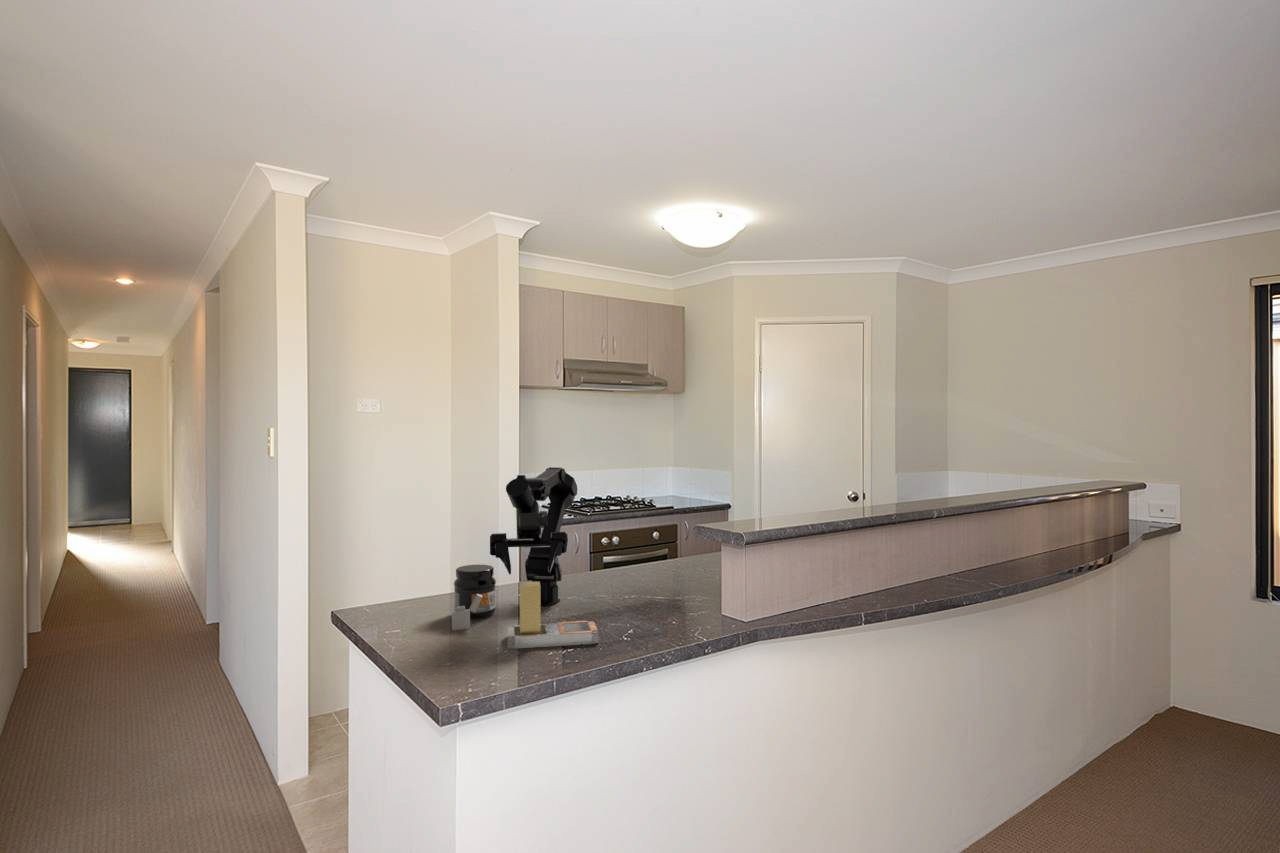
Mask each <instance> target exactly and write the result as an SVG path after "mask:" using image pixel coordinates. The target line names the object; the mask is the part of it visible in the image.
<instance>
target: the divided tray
mask: <svg viewBox="0 0 1280 853" xmlns="http://www.w3.org/2000/svg"><path fill="white" fill-rule="evenodd" d="M506 627H507V631H506V632H507V639H506V640H507V649H508V650H512V649H528V648H546V647H548V648H550V647H562V646H563V647H564V646H565V647H566V646H577V645H578V646H581V644H582V645H592V644H593V645H596V643H598V644H599V629H598V628H597V626H596V624H595V621H594V620H593V621H592V620H591V621H589V620H576V621H572V620H571V621H558V622H556V623H555V622H551V623H541V634H538V635H521V636H520V624H518V625H517V624H516V625H514V624H513V625H507V626H506Z"/></svg>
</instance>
